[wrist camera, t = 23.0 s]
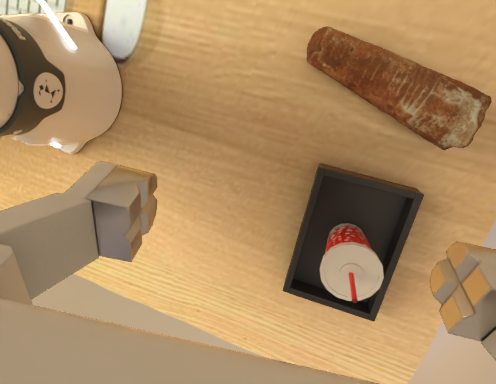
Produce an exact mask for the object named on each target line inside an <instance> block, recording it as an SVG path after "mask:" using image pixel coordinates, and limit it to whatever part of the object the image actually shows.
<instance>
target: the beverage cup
mask: <svg viewBox="0 0 496 384" xmlns="http://www.w3.org/2000/svg"><path fill="white" fill-rule="evenodd" d="M320 276H321V281H322V283H323V284H324V286H325V287H326V289H327V290H328V291H329V292H330V293H332V294H333V295H334V296H336V297H338V298H341V299H344V300H347V301H352V302H353V303H357V302H358V301H361V300H363V299H366V298H368V297H371V296H372V295H373V294H374V293H375V292H376V291H377V290H378V289H379V288H380V286H381V284H382V281H383V278H384V274H383V266H382V264H381V262H380V260H379V258H378V256H377V255H376V253H375V252H374V251H372V249H371V247H370V245H369V243H368V241H367V239H366V237H365V235H364V233H363V231H362V230H361V229H360V228H359V227H357V226H356V225H353V224H350V223H344V224H339V225H337V226H335V227H334V228H333V229H332V230H331V231H330V233H329V236H328V240H327V245H326V250H325V255H324V256H323V258H322V262H321V265H320Z"/></svg>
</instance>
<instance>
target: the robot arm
mask: <svg viewBox="0 0 496 384" xmlns="http://www.w3.org/2000/svg"><path fill="white" fill-rule="evenodd" d="M38 2H39V3H40V5H41V6H42V7H43V9H44V10H45V12H46V13H36V14H32V13H30V14H12V15H0V137H10V136H13V139H14V140H16V141H21V142H24V143H25V144H26V145H29V146H44V145H52V146H54V147H56V148H57V149H59V150H61V151H63V152H65V153H68V154H75V153H77V152H79V151H80V150H81V148H82V147H83V146H84V145H85V143H86V142H87V141H89V140H91V139H93V138H95V137H98V136H99V135H101V134H103V133H104V132H105V131H106V130H107V129H108V128H109V127H110V126H111V125H112V124H113V122H114V120H115V119H116V117H117V114H118V112H119V109H120V105H121V99H122V85H121V78H120V74H119V70H118V68H117V65H116V63H115V61H114V59H113V57H112V55H111V54H110V52H109V51H108V50H107V48H106V47H105V46H104V45H103V44H102V43H101V42H100V40H99V39H98V38H97V36H96V35H95V32H94V30H93V27H92V25H91V22H90V20H89V19H88V17H87V16H86V15H85V14H83V13H79V12H61V13H52V11H51V10H50V8H49V7H48V5H47V4H46V3H45V1H44V0H38ZM72 21H73V24H72V25H71V22H72ZM156 188H157V176H156V175H155V174H153V173H149V172H145V171H141V170H137V169H133V168H129V167H125V166H121V165H116V164H112V163H107V162H103V161H100V162H96V163H95V164H94V165H93V166H92V167H91V168H90V169H89V170H88V171H87V172H86V173H85V174H84V175H83V176H82V177H81V178H80V179H79V180H77V181H76V182H75V183H74V184H73V185H72V186H71V187H70V188H69V189H68V190H67V191H66V192H65V193H64V194H60V193H55V194H52V195H49V196H46V197H43V198H40V199H36V200H33V201H30V202H27V203H24V204H21V205H17V206H14V207H11V208H8V209H5V210H2V211H0V384H379V383H374V382H370V381H365V380H361V379H357V378H352V377H348V376H343V375H339V374H335V373H330V372H326V371H321V370H317V369H312V368H308V367H304V366H299V365H295V364H290V363H286V362H282V361H277V360H273V359H268V358H264V357H260V356H255V355H251V354H246V353H242V352H238V351H233V350H229V349H224V348H220V347H215V346H211V345H206V344H202V343H198V342H193V341H189V340H184V339H180V338H175V337H171V336H167V335H162V334H158V333H154V332H149V331H145V330H140V329H136V328H132V327H127V326H122V325H118V324H114V323H109V322H105V321H100V320H96V319H92V318H87V317H83V316H78V315H74V314H70V313H65V312H61V311H56V310H51V309H47V308H43V307H39V306H34V305H33V304H32V301H31V299H33V298H34V297H36V296H38V295H39V294H41V293H43V292H44V291H46V290H47V289H49V288H51V287H52V286H54V285H55V284H57V283H59V282H60V281H62V280H63V279H65V278H67V277H68V276H70V275H71V274H73V273H75V272H76V271H78V270H80V269H81V268H83V267H84V266H86V265H88V264H89V263H91V262H92V261H94V260H96V259H97V258H99V256H103V257H108V258H113V259H118V260H123V261H128V262H132V260H133V258H134V257H135V255H136V253H137V251H138V250H139V248H140V246H141V245H142V235H144V234H146V233H148V232H149V230H150V229H151V227H152V225H153V222H154V219H155V216H156V210H157V199H156V198H155V197H154V195H153V193H154V192H155V190H156ZM446 254H447V259H445V260H442V261H440V262H438V263H437V264H436V266H435V267H434V269H433V270H432V272H431V277H430V288H431V291H432V294H433V296H434V297H435V298H436V299H437V300H438V301H439V302H440V303H441V304H442V306H441V308H440V310H439V311H440V314H441V316H442V319H443V321H444V324H445V326H446V329H447V331H448V333H449V334H453V335H457V336H461V337H465V338H469V339H473V340H477V341H481V344H482V345H483V346H484V347H485V348H486V350H487V351H488V352H489V353H490V354H491V355H492V357H493V358H494V359H495V360H496V249H490V248H486V247H481V246H477V245H472V244H467V243H463V242H458V241H457V242H455V243H454V244H452V245H451V246H450V247H449V248H448V250H447V251H446Z"/></svg>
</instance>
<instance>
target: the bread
mask: <svg viewBox="0 0 496 384" xmlns="http://www.w3.org/2000/svg"><path fill="white" fill-rule="evenodd" d="M307 61H308V62H309V63H310V64H311V65H313V66H314V67H316V68H318V69H319V70H321V71H322V72H324V73H326V74H327V75H329V76H330V77H332V78H333V79H335V80H336V81H338V82H339V83H341V84H342V85H344V86H345V87H347V88H348V89H350V90H352V91H353V92H355V93H356V94H357V95H359V96H360V97H362V98H363V99H365V100H366V101H368V102H370V103H371V104H373V105H374V106H376V107H377V108H379V109H380V110H382V111H384V112H386V113H387V114H389V115H391V116H392V117H394V118H395V119H397V120H399V121H400V122H401V123H403V124H404V125H405V126H407V127H408V128H410V129H411V130H413V131H415V132H416V133H418V134H419V135H421V136H422V137H423V138H425V139H427V140H428V141H430V142H432V143H433V144H435V145H437V146H438V147H440V148H441V149H443V150H446V149H449V148H451V147H458V148H464V147H467V146H468V145H469V144H470V143H471V142H472V140H473V137H474V134H475V133H476V132H477V130H478V129H479V128H480V126H481V125H482V122H483V120H484V117H485V113H486V110H487V109H488V107H489V106H490V104H491V97H490V96H487V95H485V94H484V93H482V92H480V91H478V90H477V89H475V88H473V87H471V86H468V85H466V84H464V83H462V82H460V81H457V80H454V79H452V78H450V77H448V76H445V75H443V74H440V73H438V72H436V71H433V70H431V69H427V68H425V67H423V66H421V65H419V64H417V63H415V62H413V61H411V60H408V59H405V58H403V57H401V56H399V55H397V54H395V53H392V52H390V51H388V50H385V49H383V48H380V47H378V46H376V45H373V44H370V43H368V42H364V41H362V40H360V39H358V38H355V37H353V36H350V35H348V34H345V33H343V32H340V31H337V30H335V29H333V28H331V27H327V26H326V27H323V28H321V29H319V30H318V31H316V32H315V33H314V34H313V36H312V37H311V39H310V41H309V43H308V47H307Z"/></svg>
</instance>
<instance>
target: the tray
mask: <svg viewBox="0 0 496 384" xmlns="http://www.w3.org/2000/svg"><path fill="white" fill-rule="evenodd" d="M423 196H424V194H422V193H421V192H420V191H419V190H418V189H416V188H412V187H408V186H404V185H400V184H396V183H393V182H389V181H385V180H381V179H377V178H374V177H370V176H366V175H362V174H358V173H354V172H351V171H347V170H343V169H339V168H335V167H331V166H328V165H324V164H319V166H318V170H317V173H316V177H315V180H314V184H313V187H312V191H311V194H310V197H309V201H308V204H307V208H306V211H305V215H304V218H303V221H302V225H301V228H300V232H299V235H298V239H297V242H296V245H295V249H294V252H293V256H292V259H291V263H290V266H289V269H288V273H287V276H286V280H285V284H284V287H283V291H284V292H287V293H290V294H293V295H296V296H299V297H302V298H305V299H308V300H311V301H314V302H317V303H320V304H323V305H326V306H329V307H332V308H335V309H338V310H341V311H344V312H347V313H350V314H353V315H356V316H359V317H362V318H365V319H368V320H371V321H375V318H376V316H377V313H378V311H379V308H380V306H381V303H382V300H383V298H384V295H385V293H386V290H387V288H388V285H389V283H390V280H391V278H392V275H393V273H394V270H395V267H396V265H397V262H398V260H399V257H400V255H401V252H402V250H403V247H404V245H405V242H406V239H407V237H408V234H409V232H410V229H411V227H412V224H413V222H414V219H415V217H416V214H417V211H418V209H419V206H420V204H421V201H422V199H423ZM344 223H350V224H353V225H356V226H357V227H359V228H360V229H361V230H362V231H363V233H364V235H365V237H366V239H367V241H368V243H369V245H370V247H371V249H372V251H374V252H375V253H376V255H377V256H378V258H379V260H380V262H381V264H382V266H383V274H384V278H383V281H382V284H381V286H380V288H379V289H378V290H377V291H376V292H375V293H374V294H373V295H372V296H371V297H368V298H366V299H363V300H361V301H358V302H357V303H353V302H352V301H347V300H344V299H341V298H338V297H336V296H334V295H333V294H332V293H330V292H329V291H328V290H327V289H326V287H325V286H324V284H323V283H322V281H321V276H320V265H321V262H322V258H323V256H324V255H325V250H326V245H327V240H328V236H329V233H330V231H331V230H332V229H333V228H334V227H335V226H337V225H339V224H344Z"/></svg>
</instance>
